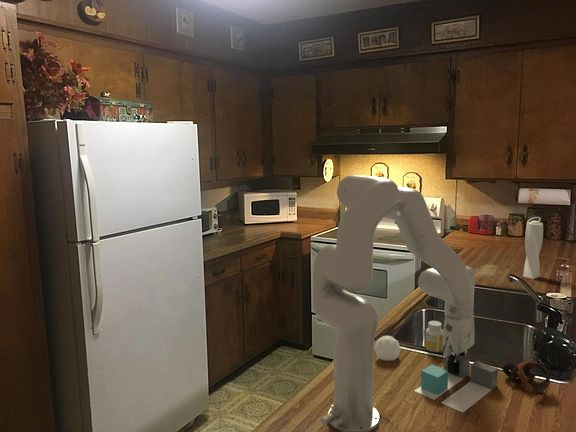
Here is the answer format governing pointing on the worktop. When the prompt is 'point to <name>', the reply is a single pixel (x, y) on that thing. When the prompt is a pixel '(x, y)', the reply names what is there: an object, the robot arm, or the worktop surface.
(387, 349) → the ball
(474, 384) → the empty strip
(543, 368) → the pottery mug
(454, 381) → the strip with cube
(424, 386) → the cube
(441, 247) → the robot arm
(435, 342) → the supplement bottle
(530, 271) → the skyscraper
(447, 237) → the worktop surface
